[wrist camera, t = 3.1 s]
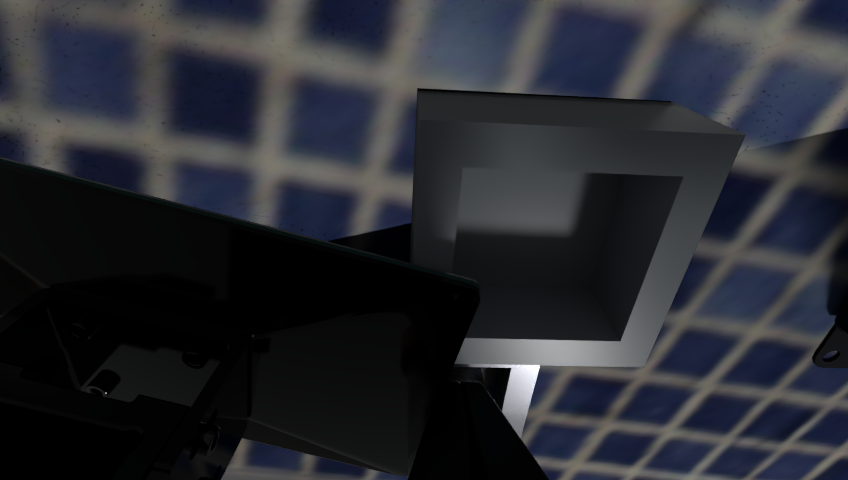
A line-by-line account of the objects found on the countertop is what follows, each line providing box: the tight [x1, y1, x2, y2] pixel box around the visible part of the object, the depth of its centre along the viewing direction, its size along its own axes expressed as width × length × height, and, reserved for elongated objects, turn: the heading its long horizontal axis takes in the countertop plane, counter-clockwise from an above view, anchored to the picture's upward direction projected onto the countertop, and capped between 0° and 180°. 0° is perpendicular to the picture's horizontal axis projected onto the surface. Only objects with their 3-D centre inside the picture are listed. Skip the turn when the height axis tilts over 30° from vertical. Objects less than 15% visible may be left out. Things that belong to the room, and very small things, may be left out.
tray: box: [410, 88, 745, 367], centre depth 10 cm, size 6×6×2 cm
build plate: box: [0, 157, 481, 480], centre depth 8 cm, size 12×7×5 cm, turn 76°
